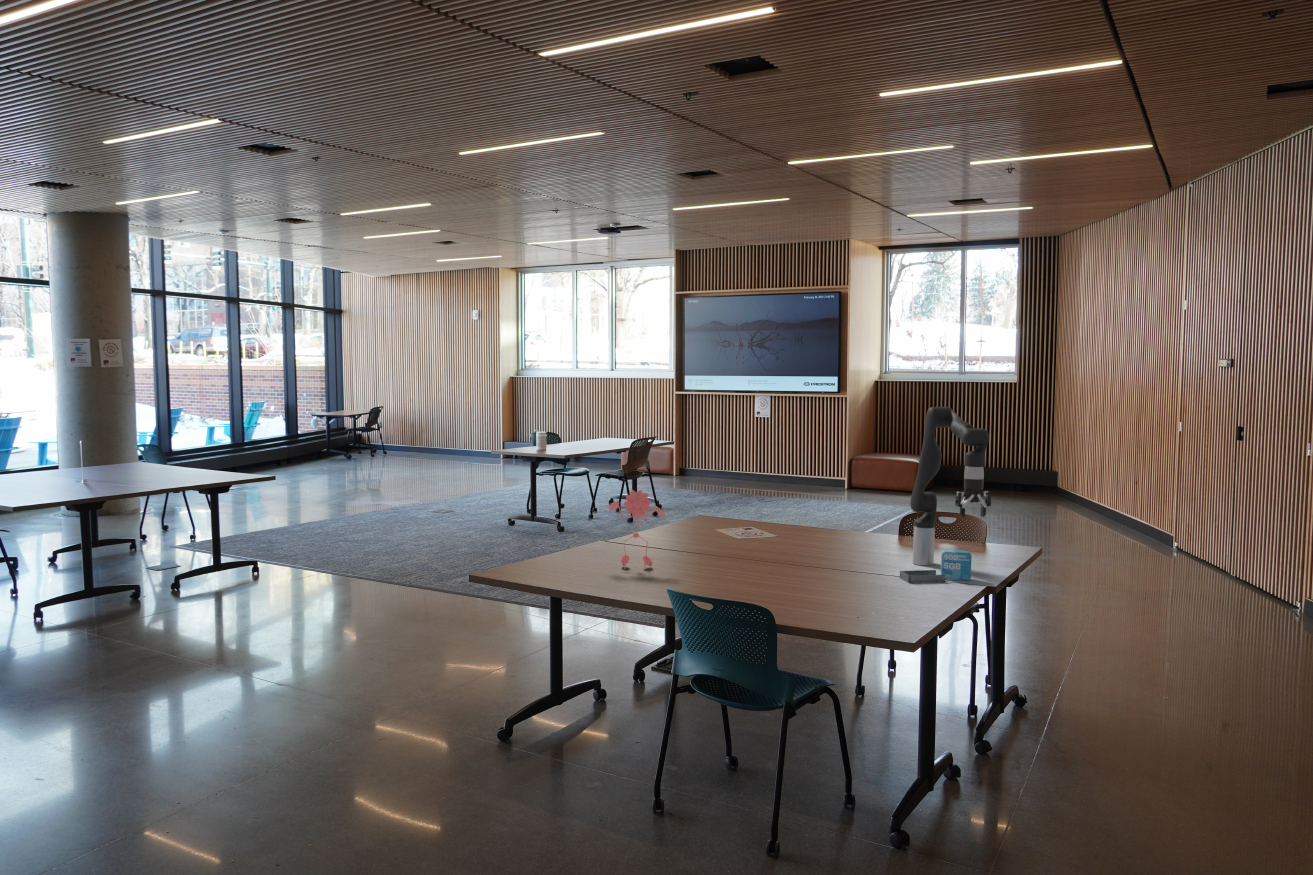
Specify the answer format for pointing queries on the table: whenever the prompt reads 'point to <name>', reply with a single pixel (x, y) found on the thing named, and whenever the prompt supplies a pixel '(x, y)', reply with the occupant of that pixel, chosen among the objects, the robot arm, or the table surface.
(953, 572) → the data package
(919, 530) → the robot arm
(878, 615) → the table surface
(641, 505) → the pink fuzzy puppet
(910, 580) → the keeper bracket
